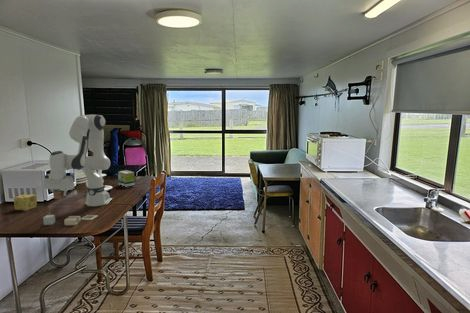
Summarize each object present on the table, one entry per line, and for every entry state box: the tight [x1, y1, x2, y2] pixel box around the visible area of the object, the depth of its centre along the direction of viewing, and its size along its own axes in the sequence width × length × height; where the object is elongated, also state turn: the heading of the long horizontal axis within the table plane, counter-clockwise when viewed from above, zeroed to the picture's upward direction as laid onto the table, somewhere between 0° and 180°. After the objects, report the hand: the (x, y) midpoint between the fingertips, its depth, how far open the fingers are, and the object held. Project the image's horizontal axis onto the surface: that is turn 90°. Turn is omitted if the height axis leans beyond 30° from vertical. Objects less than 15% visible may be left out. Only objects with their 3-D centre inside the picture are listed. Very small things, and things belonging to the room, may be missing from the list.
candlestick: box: [85, 170, 113, 192], centre depth 275 cm, size 21×25×28 cm
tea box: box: [117, 169, 136, 188], centre depth 298 cm, size 15×10×15 cm, turn 49°
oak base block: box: [63, 215, 82, 226], centre depth 195 cm, size 7×7×4 cm
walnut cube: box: [52, 189, 67, 200], centre depth 198 cm, size 5×5×5 cm
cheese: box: [13, 194, 38, 212], centre depth 224 cm, size 10×11×10 cm
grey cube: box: [42, 214, 56, 226], centre depth 194 cm, size 5×5×5 cm
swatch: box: [80, 214, 99, 221], centre depth 206 cm, size 8×8×1 cm
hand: (59, 195), depth 198 cm, fingers closed on walnut cube, 5 cm apart
